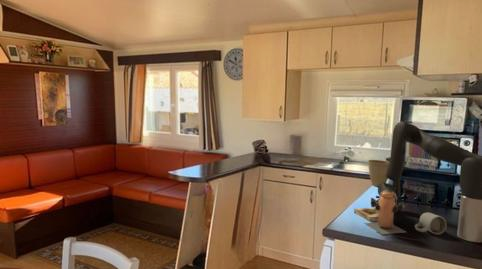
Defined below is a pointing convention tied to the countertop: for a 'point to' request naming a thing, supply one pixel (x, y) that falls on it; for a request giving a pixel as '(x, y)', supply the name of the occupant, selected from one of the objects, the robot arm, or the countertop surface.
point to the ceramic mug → (431, 223)
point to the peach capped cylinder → (386, 209)
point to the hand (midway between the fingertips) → (386, 209)
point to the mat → (385, 229)
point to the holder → (367, 213)
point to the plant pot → (378, 171)
